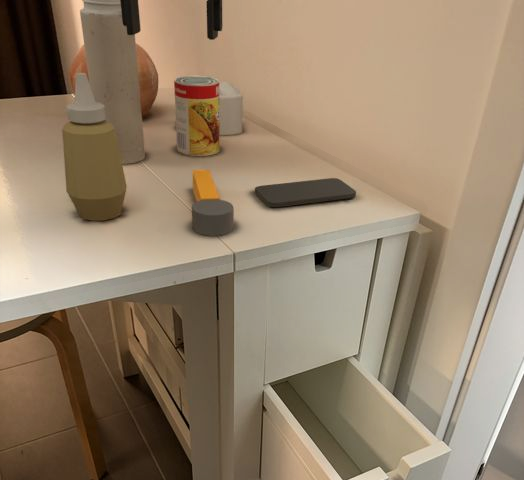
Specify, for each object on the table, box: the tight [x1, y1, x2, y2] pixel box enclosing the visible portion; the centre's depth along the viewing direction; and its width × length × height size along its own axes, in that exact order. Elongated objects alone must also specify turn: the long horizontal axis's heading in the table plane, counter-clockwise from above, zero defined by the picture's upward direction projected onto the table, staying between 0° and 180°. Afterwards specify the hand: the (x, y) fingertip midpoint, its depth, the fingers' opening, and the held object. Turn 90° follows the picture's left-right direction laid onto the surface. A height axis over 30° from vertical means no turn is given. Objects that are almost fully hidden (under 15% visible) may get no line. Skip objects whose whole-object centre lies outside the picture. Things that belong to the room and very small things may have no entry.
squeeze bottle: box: [61, 73, 128, 221], centre depth 73 cm, size 8×8×18 cm
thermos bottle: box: [79, 0, 146, 165], centre depth 90 cm, size 8×8×28 cm
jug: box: [68, 42, 159, 120], centre depth 115 cm, size 18×18×20 cm
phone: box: [254, 177, 357, 208], centre depth 87 cm, size 7×1×15 cm
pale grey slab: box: [219, 81, 244, 136], centre depth 113 cm, size 10×13×9 cm
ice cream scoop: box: [191, 169, 235, 237], centre depth 80 cm, size 17×6×3 cm, turn 12°
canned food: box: [173, 74, 221, 157], centre depth 100 cm, size 8×8×12 cm
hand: (173, 35), depth 66 cm, fingers open, 9 cm apart
